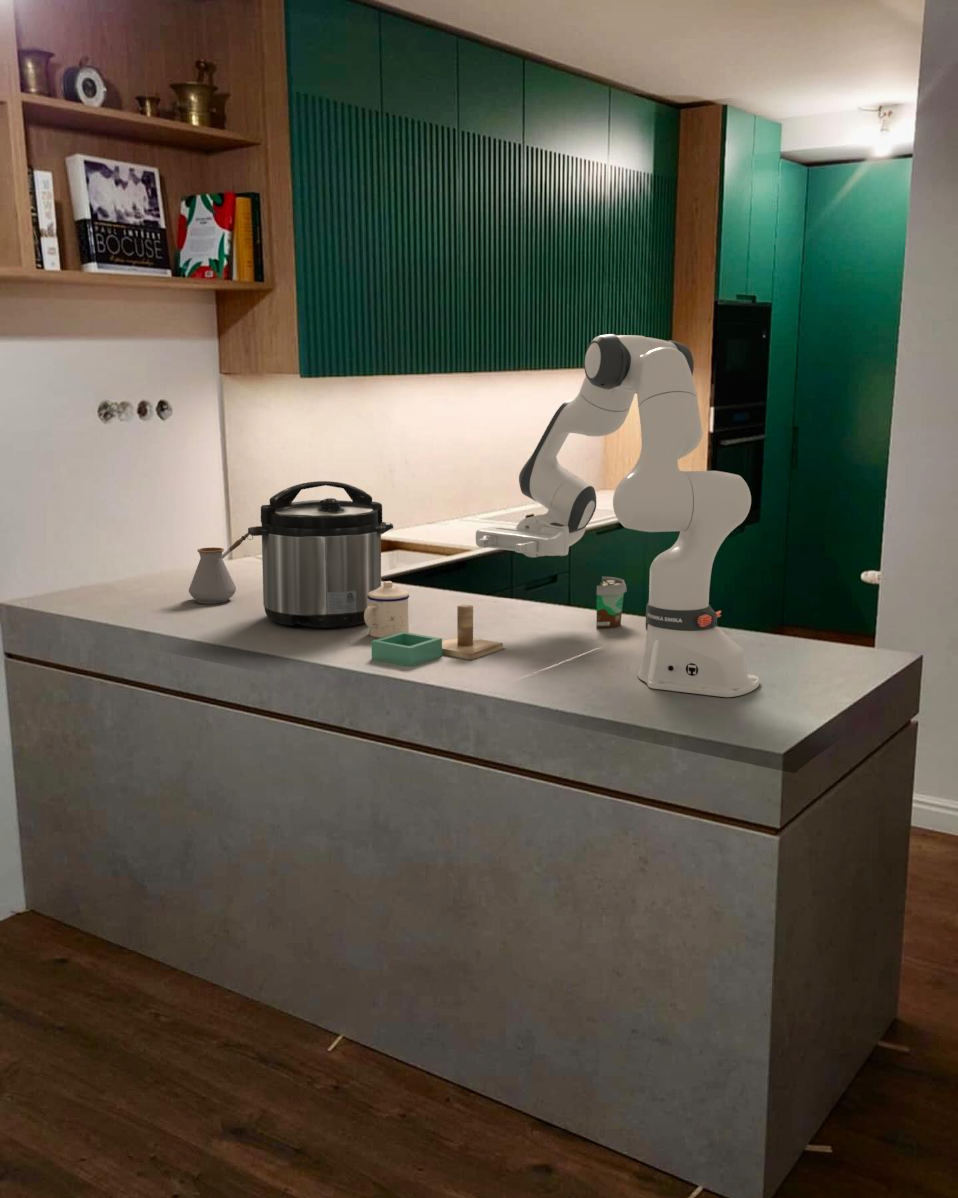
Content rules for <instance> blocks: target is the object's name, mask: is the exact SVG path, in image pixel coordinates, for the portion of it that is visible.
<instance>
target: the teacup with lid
mask: <svg viewBox="0 0 958 1198" xmlns="http://www.w3.org/2000/svg"><path fill="white" fill-rule="evenodd" d="M367 598H368V602H369V606H368V607H367V608H366V610H365V612H364V620H365V622H364V623H365V626H367V627H368V634H369V635H370V636H371V637H374V638H377V639H380V638H384V637H387V636H391V635H394V634H397V633H401V632H408V633H410V631H409V627H410V626H409V598H410V595H409V593H408V591H406V590H404V589H401V588H399V587H398V586H396V585H394V583H393V582H392V581H391V580H387V581H383V585H381V587H379V588H378V589H376V590H374V591H371V592H369V593H368V596H367Z"/></svg>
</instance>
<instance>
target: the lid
mask: <svg viewBox="0 0 958 1198" xmlns="http://www.w3.org/2000/svg"><path fill="white" fill-rule="evenodd" d="M456 607H457V610H456V612H457V613H456V614H457V619H456V621H457V622H456V623H457V633H456V634H457V636H455V637H451V638H448V639H446V640H442V654H443V655H448V656H454V657H459V658H465V659H470V660H472V659H474V658H477V657H480V656H483V655H486V654H489V653H492V652H495V651H498V650H500V649H503V648H504V647H503V645H504V644H503V642H499V641H493V640H487V639H480V638H475V637H474V605H472V604H459V605H456ZM498 652H499V651H498ZM495 653H496V652H495ZM443 655H442V656H443ZM448 656H447V657H448ZM454 657H453V658H454ZM459 658H458V659H459ZM470 660H469V661H470Z"/></svg>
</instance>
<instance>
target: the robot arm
mask: <svg viewBox="0 0 958 1198" xmlns="http://www.w3.org/2000/svg"><path fill="white" fill-rule="evenodd" d="M694 362H695V361H694V357H693V354H692V351H691V350H690V348H689V347H688V346H687V345H686V344H683V343H681V342H679V341H676V340H666V339H665V340H664V339H659V338H654V337H646V336H644V335H637V334H636V335H635V334H633V335H632V334H631V335H630V334H627V335H625V334H623V335H622V334H619V335H616V334H614V333H610V334H609V333H608V334H601V335H598V336H595V337H594V338H593V339H592V340H591V342H590V343H589V344H588V346H587V348H586V350H585V355H584V365H583V366H584V367H583V368H584V373H585V377H584V379H583V381H582V384H581V387H580V390H579V392H578V394H577V395H576V397H575V398H574V399H568V400H565V401H564V402H563V403H562V404H561V405H560V406H559V407H558V409H556V411H555V413H554V414H553V416H552V417H551V419H550V421H549V423H548V425H547V426H546V429H545V430H544V432H543V434H542V436H541V438H540V439H539V441H538V444H537V445H536V447H535V449H534V451H533V453H532V454H531V455H530V457H529V459H528V460H527V461H526V462H525V464H524V465H523V467H522V468H521V470H520V472H519V475H518V481H519V482H518V484H519V488H520V491H521V493H522V494H523V496H525V497H528V498H529V499H531V500H533V501H534V502H537V503H539V505H542V507H543V508H546V509H547V512H546V513H544V514H536V515H534V516H529V517H525V518H524V519H521V520H520V521H519V522H518V523H517V525H516V527H506V526H488V527H484V528H483V527H482V528H479V529H476V530H475V543H476V546H477V547H479V548H481V549H486V548H489V549H497V550H502V551H503V550H505V551H512V552H515V553H519V554H523V555H524V556H526V557H528V558H538V557H545V556H549V557H551V556H552V557H555V556H556V557H557V556H558V557H559V556H560V557H564V556H567V555H568V554H569V550H570V547H571V546H573V545H575V544H576V543H577V542H578V541H580V540H581V539H582V537H583V536H584V534H585V533H586V529H587V526H588V524H589V523H590V522H591V520H592V518H593V516H594V514H595V511H596V508H597V493H596V490H595V487H594V486H592V485H591V484H589V483H588V482H586V481H585V480H583V479H582V478H581V477H579V476H577V475H576V474H574V473H573V472H571V471H569V469H567V468H565V467H563V466H562V465H561V464H560V463H559V461H558V458H557V456H558V454H559V452H560V450H561V449H562V447H563V445H564V443H565V441H567V440H566V439H567V438H568V436H569V435H570V434H579V435H583V436H587V437H603V436H608V435H610V434H613V433H615V432H617V431H618V430H619V429H620V428H621V427H622V426H623V425H624V423H625V421H626V419H627V417H628V414H629V412H630V409H631V407H632V403H633V401H634V398H635V394H636V395H637V396H636V398H637V407H638V414H639V421H640V422H639V423H640V433H641V435H640V437H641V449H640V454H639V457H638V460H637V462H636V464H635V465H634V467H632V469H631V471H630V472H629V473H627V475H625V476H624V477H622V479H621V480H620V481H619V483H618V484H617V485H616V487H615V490H614V493H613V498H612V509H613V511H614V514H615V517H616V520H618V522H619V524H621V525H622V527H624V528H626V529H629V530H633V531H639V532H644V533H645V532H647V533H660V532H661V533H662V532H663V533H666V532H679V535H678V537H677V540H676V541H675V542H674V544H673V545H672V546H671V547H669V548H668V549H666V550H664V551H663V552H661V553H659V554H658V555H657V556H656V557H655V558H654V559H653V561H652V562H651V564H650V567H649V584H648V588H649V589H648V591H649V592H648V602H647V603H646V610H645V631H646V636H645V645H644V651H643V656H642V661H641V664H640V668H639V671H638V673H637V677H638V678H639V679H640V680H641V681H643V682H644V683H646V685H647V687H648V688H649V689H654V690H663V691H670V692H681V693H688V694H689V693H690V694H696V695H703V696H710V697H711V696H713V697H722V698H733V697H738V696H743V695H747V694H748V693H750V692H752V691H754V690H756V689H757V688H758V687H759V686H760V678H759V677H758V676H757V675H754V674H749V669H748V661H747V656H746V653H745V650H744V649H743V647H741V646H740V645H738V644H737V643H736V642H735V641H734V640H732V639H731V638H730V637H729V636H728V635H727V634H726V633H725V632H723V630H721V629H720V628H719V627H718V626H717V625H718V618H720V617H722V615H721V613H722V610H718V611H715V610H714V609H713V608H712V607H711V605H710V604H709V602H710V587H711V578H712V577H711V576H712V569H713V565H714V564H713V563H714V561H715V557H716V555H717V553H718V551H719V549H720V547H721V545H722V544H723V542H724V541H725V539H726V538H727V537H728V536H729V535H730V533H732V532H733V531H734V530H735V529H736V528H737V527H738V526H740V525H741V524H743V522H744V521H745V520H746V518H747V517H748V514H749V513H750V510H751V505H752V495H751V491H750V488H749V486H748V483H747V482H746V480H744V478H743V477H742V476H741V475H739V474H735V473H730V472H725V471H719V470H687V471H686V470H685V471H683V470H680V469H679V463H678V462H679V461H678V460H680V459H682V458H684V457H686V456H687V455H689V454H691V453H693V452H694V451H695V450H696V449H697V448H698V446H699V445H700V443H701V441H702V438H703V427H702V421H701V414H700V408H699V401H698V395H697V391H696V386H695V381H694V372H695V371H694V369H695V363H694Z"/></svg>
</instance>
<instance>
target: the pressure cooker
mask: <svg viewBox="0 0 958 1198" xmlns="http://www.w3.org/2000/svg"><path fill="white" fill-rule="evenodd" d="M325 486H328V487H333V488H339V489H343V490H344V491H345V492H346V494H347V495H348V497H349V498H350V500H339V499H336V498H328V497H327V498H324V499H314V500H312V499H311V500H303V501H302V500H301V501H300V500H299V501H294V500H295V499H296V498H297V496H298V495H299V494H300V492H301V491H303V490H308V489H312V488H313V489H314V488H318V487H319V488H320V487H325ZM293 501H294V502H293ZM260 523H261V526H250V527H248V528H247V533H249V534H250V536H251V535H252V536H253V537H256V536H261V552H262V553H261V561H262V562H261V563H262V593H263V594H262V595H263V596H262V599H263V603H262V604H263V608H264V612H265V615H266V616H267V618H268V619H270V620H271V621H274V622H275V623H277V624H280V625H285V626H293V625H296V624H298V625H299V626H300V625H303V626H305V627H309V628H310V627H311V628H327V629H328V628H340V627H350V626H354V625H360V624H363V623H365V620H364V612H365V610H366V608H367V607H368V606H369V602H368V598H367V596H368V593H369V592H371V591H374V590H376V589H378V588H379V587H381V586H382V535H383V534H385V533H386V532H388V531H390V530H393V529H394V524H393V523H391V522H387V521H383V504H382V503H381V502H377V501H373V497H372V496H371V495H370V494H369V493H367V491H364V490H363V489H361V488H359V487H356V486H354V485H351V484H347V483H343V482H339V481H330V480H329V481H328V480H325V481H324V480H322V481H321V480H319V481H309V482H303V483H299V484H295V485H292V486H290V487H286V488H285V489H283V490H281V491H279V492H277V493H276V494H274V495H272V496H271V497H270V498H269V504H263V505H261V506H260ZM252 536H251V537H252Z"/></svg>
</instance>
